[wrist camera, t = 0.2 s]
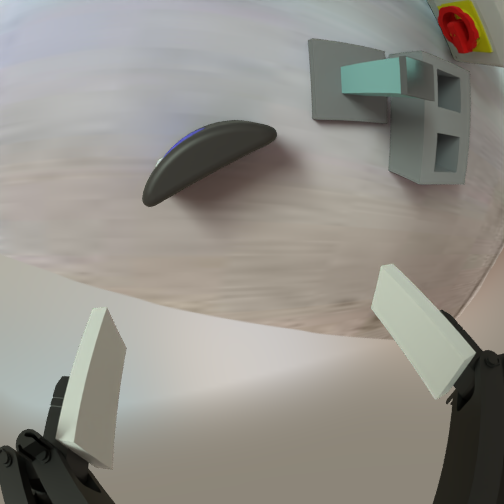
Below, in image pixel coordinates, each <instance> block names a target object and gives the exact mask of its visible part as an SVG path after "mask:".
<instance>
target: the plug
mask: <svg viewBox="0 0 504 504" xmlns="http://www.w3.org/2000/svg"><path fill="white" fill-rule="evenodd" d="M341 83H342V93H344V94H354V95H363V96H388V97H405V98H417V99H424V100H428V101H435V92H434V69H433V65H432V64H429V63H426V62H423V61H420V60H417V59H414V58H411V57H408V56H399V57H398V58H390V59H383V60H376V61H370V62H364V63H358V64H353V65H348V66H343V67H341Z"/></svg>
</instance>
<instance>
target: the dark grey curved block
mask: <svg viewBox="0 0 504 504" xmlns="http://www.w3.org/2000/svg"><path fill="white" fill-rule="evenodd" d="M276 137H277V132H276V130H275V129H274V128H273V127H270V126H268V125H264V124H260V123H255V122H249V121H242V120H230V121H222V122H217V123H213V124H210V125H207V126H204V127H202V128H199V129H197V130H195V131H193V132H192V133H190V134H188V135H187V136H185V137H184V138H182V139H181V140H180V141H179V142H177V143H176V144H175V145H174V146H173V147H172V148H171V149H170V150H169V151H168V152H167V153H166V155H165V156H164V157H162V158H160V159H159V160H158V162H157V164H156V168H155V169H154V171H153V172H152V174H151V175H150V177H149V179H148V181H147V183H146V186H145V188H144V192H143V197H142V200H143V203H144V205H146V206H148V207H152V206H155V205H157V204H159V203H161V202H162V201H164V200H166V199H167V198H169V197H171V196H172V195H174V194H176V193H177V192H179V191H181V190H183V189H184V188H186V187H188V186H190V185H191V184H193V183H195V182H197V181H198V180H200V179H202V178H204V177H206V176H207V175H209V174H211V173H213V172H215V171H217V170H218V169H220V168H222V167H224V166H226V165H228V164H230V163H232V162H234V161H236V160H237V159H239V158H241V157H243V156H245V155H247V154H249V153H251V152H253V151H255V150H257V149H260V148H262V147H264V146H266V145H268V144H269V143H271V142H272V141H274V140H275V139H276Z"/></svg>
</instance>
